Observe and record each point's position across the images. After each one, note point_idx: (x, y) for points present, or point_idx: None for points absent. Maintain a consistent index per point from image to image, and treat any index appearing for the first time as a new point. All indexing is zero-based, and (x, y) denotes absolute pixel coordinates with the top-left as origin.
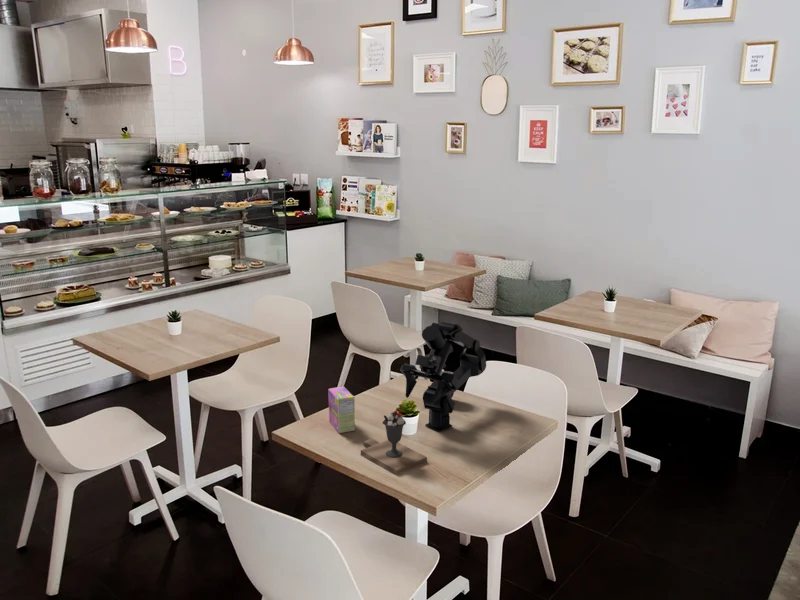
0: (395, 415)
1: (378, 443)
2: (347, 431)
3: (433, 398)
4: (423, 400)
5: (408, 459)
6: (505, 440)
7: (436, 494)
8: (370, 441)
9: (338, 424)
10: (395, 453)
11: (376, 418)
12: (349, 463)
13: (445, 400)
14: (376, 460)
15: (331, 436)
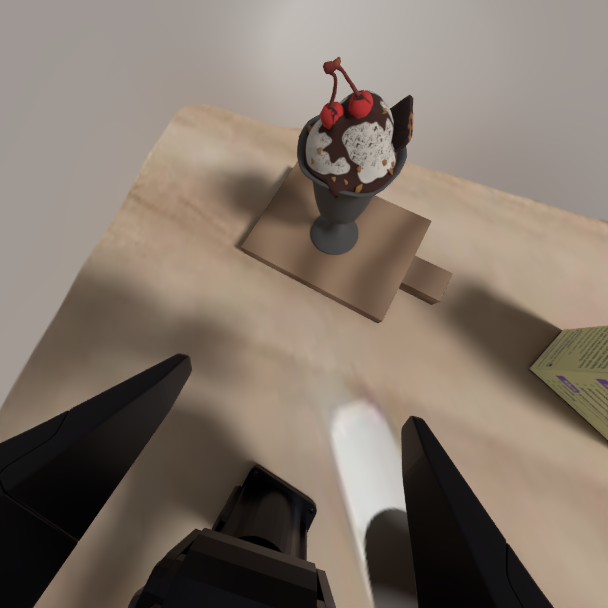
0: (349, 95)
1: (404, 277)
2: (546, 350)
3: (151, 372)
4: (331, 601)
5: (285, 217)
6: None
7: (192, 132)
8: (433, 280)
9: (602, 326)
10: (327, 220)
11: (520, 511)
12: (427, 182)
13: (147, 584)
14: None
15: (568, 304)
